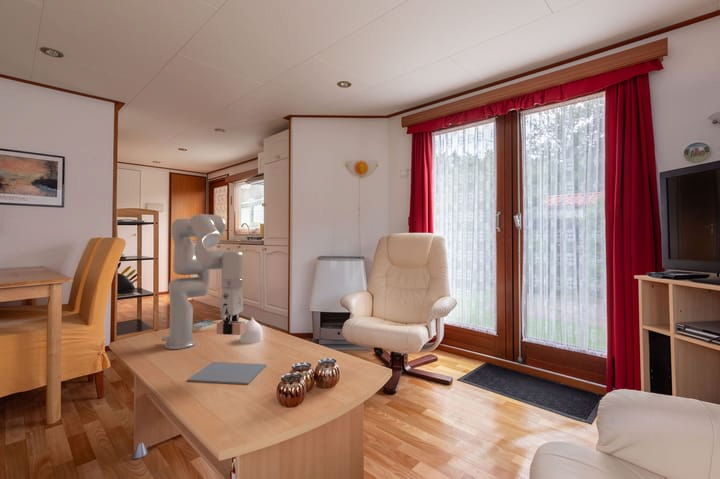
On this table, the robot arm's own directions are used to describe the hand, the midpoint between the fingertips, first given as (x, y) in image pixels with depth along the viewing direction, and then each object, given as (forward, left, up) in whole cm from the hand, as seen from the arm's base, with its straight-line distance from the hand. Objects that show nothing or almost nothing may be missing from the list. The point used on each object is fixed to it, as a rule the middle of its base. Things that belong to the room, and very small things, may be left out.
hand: (230, 331), depth 127 cm
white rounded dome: (-8, +42, -16) cm, 46 cm away
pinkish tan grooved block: (0, 0, 0) cm, 0 cm away
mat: (0, 0, -15) cm, 15 cm away
